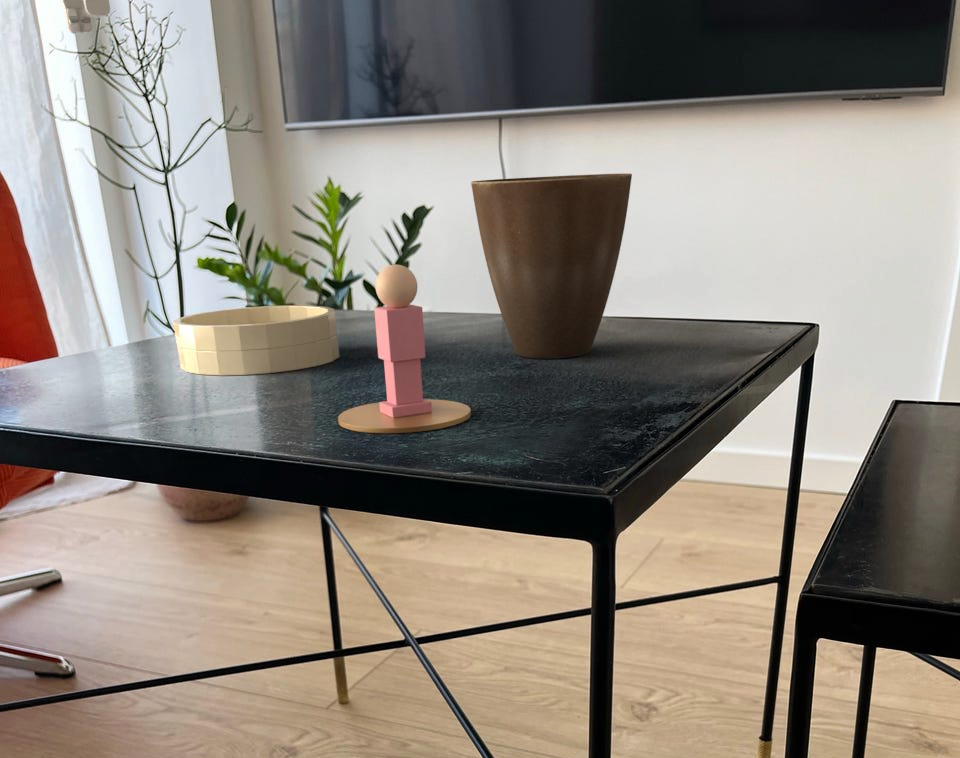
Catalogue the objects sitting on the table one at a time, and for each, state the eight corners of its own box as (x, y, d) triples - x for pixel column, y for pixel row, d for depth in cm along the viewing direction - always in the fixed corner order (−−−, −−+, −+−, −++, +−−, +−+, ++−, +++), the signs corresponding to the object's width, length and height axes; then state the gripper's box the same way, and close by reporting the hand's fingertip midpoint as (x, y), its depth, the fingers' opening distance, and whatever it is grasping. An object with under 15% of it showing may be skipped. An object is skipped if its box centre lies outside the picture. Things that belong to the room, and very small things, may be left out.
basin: (203, 388, 92) (194, 331, 89) (167, 366, 104) (159, 315, 102) (362, 368, 98) (357, 314, 96) (310, 349, 110) (305, 301, 108)
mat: (367, 440, 70) (367, 434, 70) (320, 415, 79) (319, 410, 78) (494, 420, 74) (494, 414, 74) (436, 398, 83) (436, 393, 82)
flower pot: (650, 359, 95) (654, 171, 89) (494, 371, 93) (487, 180, 86) (603, 337, 109) (604, 173, 102) (466, 347, 106) (458, 180, 100)
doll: (394, 418, 75) (382, 267, 70) (378, 412, 77) (366, 265, 73) (433, 412, 76) (424, 263, 71) (417, 406, 78) (406, 261, 74)
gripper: (-3, -149, 85) (35, 41, 91) (20, -236, 68) (64, 4, 74) (76, -143, 88) (108, 42, 93) (116, -225, 71) (152, 6, 77)
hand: (89, 25), depth 84 cm, fingers open, 8 cm apart
